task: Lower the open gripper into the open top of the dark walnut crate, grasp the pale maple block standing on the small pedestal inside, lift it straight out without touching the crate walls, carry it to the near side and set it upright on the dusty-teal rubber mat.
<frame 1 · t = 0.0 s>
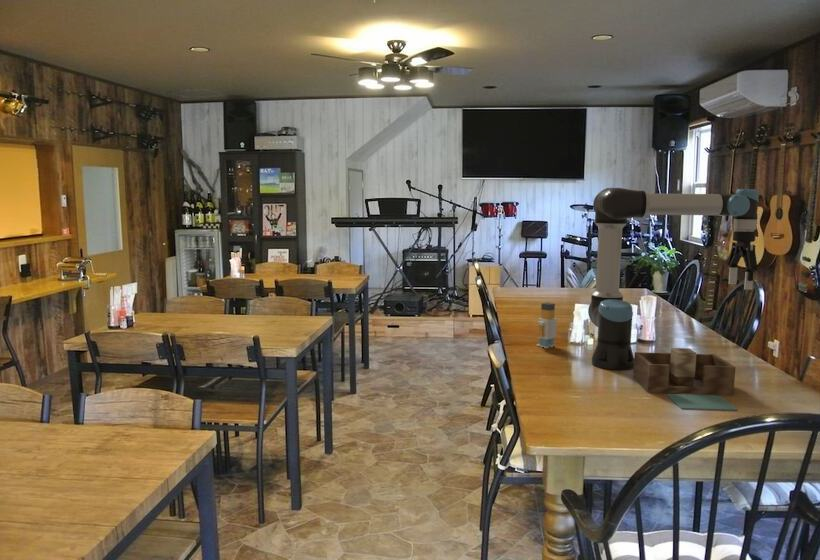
hand: (740, 286, 242), 28 cm above the table, fingers open, 13 cm apart
crate: (681, 386, 210), on the table
character figure: (546, 346, 264), on the table
block: (681, 374, 209), point 4 cm above the table, touching crate
mat: (701, 402, 193), on the table
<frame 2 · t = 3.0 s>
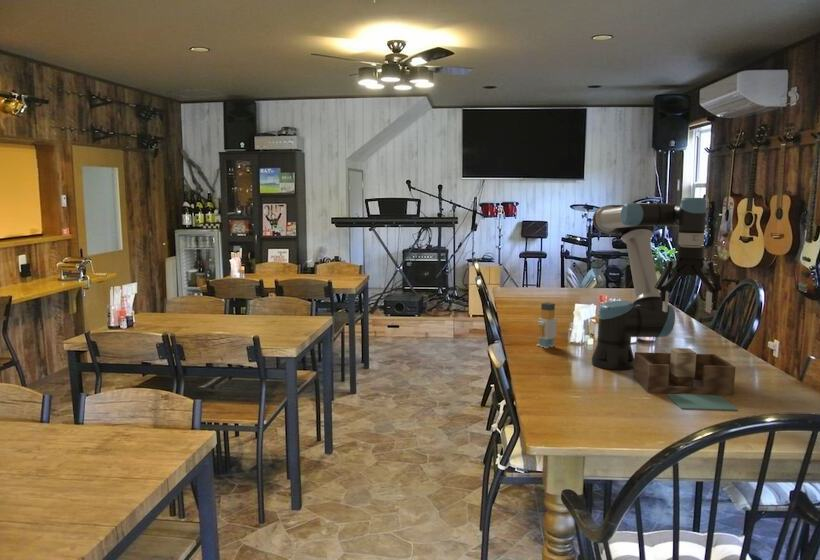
hand: (686, 311, 206), 25 cm above the table, fingers open, 13 cm apart
nothing on the table moved.
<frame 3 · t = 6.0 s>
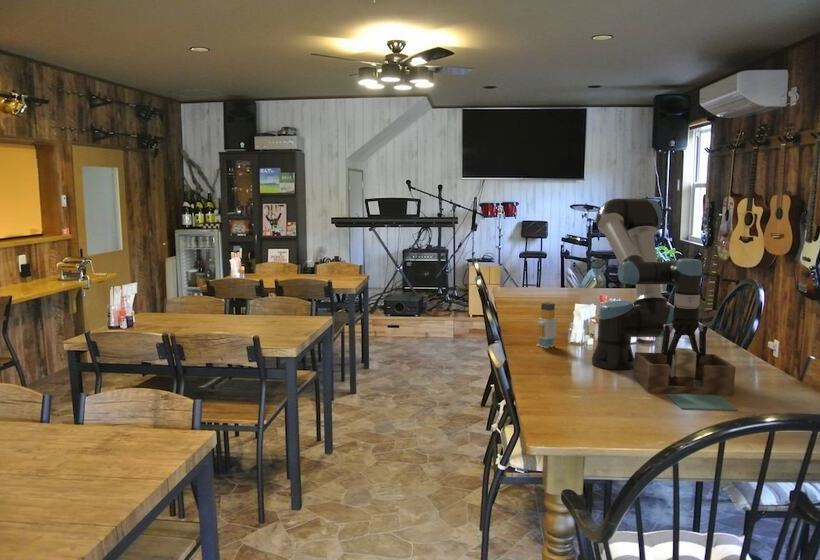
hand: (681, 376, 209), 3 cm above the table, fingers closed on block, 6 cm apart
block: (681, 374, 209), point 4 cm above the table, touching crate, gripper
everything else where it was.
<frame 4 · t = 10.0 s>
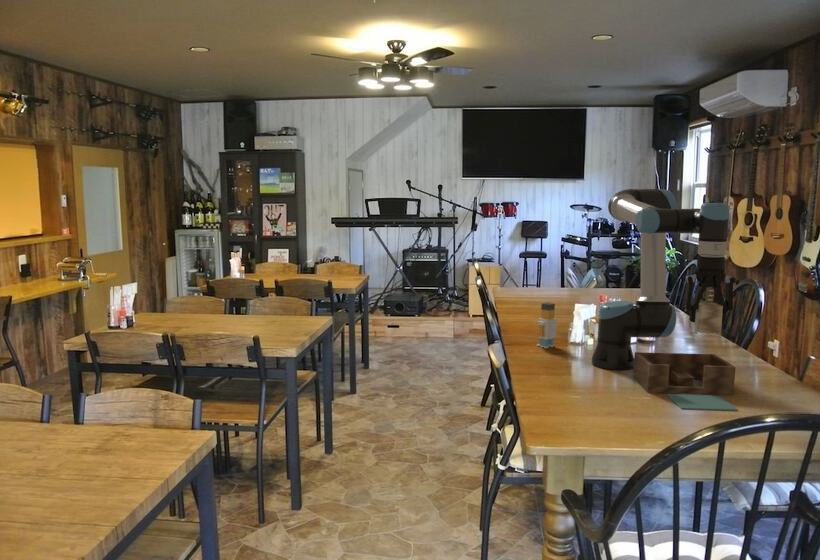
hand: (706, 332, 190), 22 cm above the table, fingers closed on block, 6 cm apart
block: (706, 330, 190), point 22 cm above the table, touching gripper
everything else where it was.
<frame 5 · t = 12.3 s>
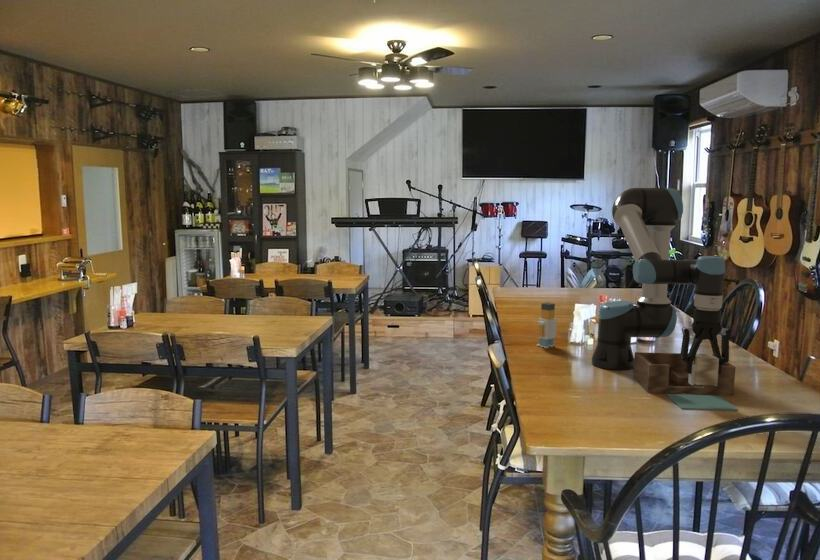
hand: (702, 384, 192), 6 cm above the table, fingers closed on block, 6 cm apart
block: (702, 382, 192), point 7 cm above the table, touching gripper
everything else where it was.
when the fingers open (1 cm above the table, at t = 14.2 s): block drops 2 cm, resting on mat.
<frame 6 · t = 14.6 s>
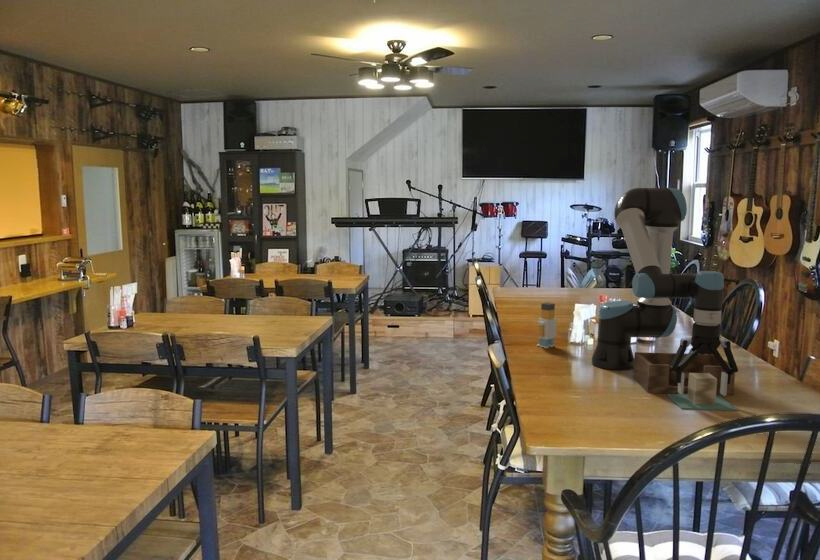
hand: (701, 393, 193), 3 cm above the table, fingers open, 12 cm apart
block: (701, 401, 193), resting on mat
everything else where it was.
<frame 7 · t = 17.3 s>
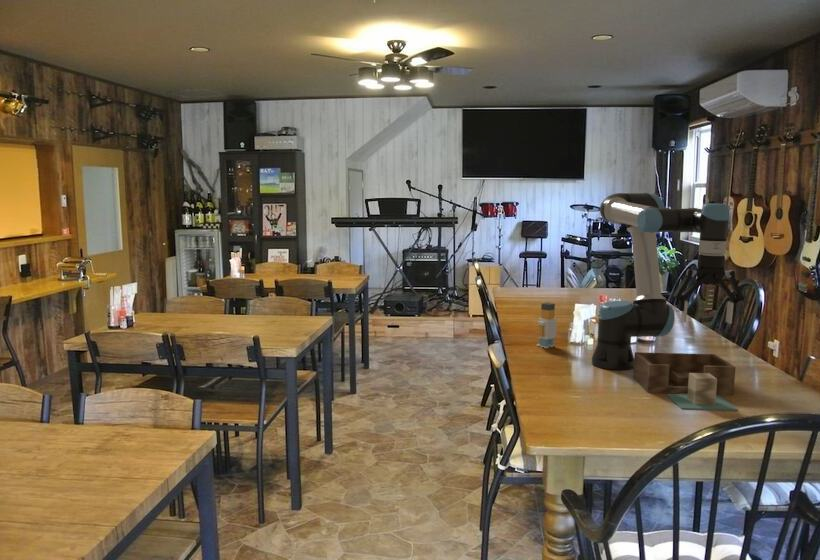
hand: (706, 322, 199), 23 cm above the table, fingers open, 13 cm apart
nothing on the table moved.
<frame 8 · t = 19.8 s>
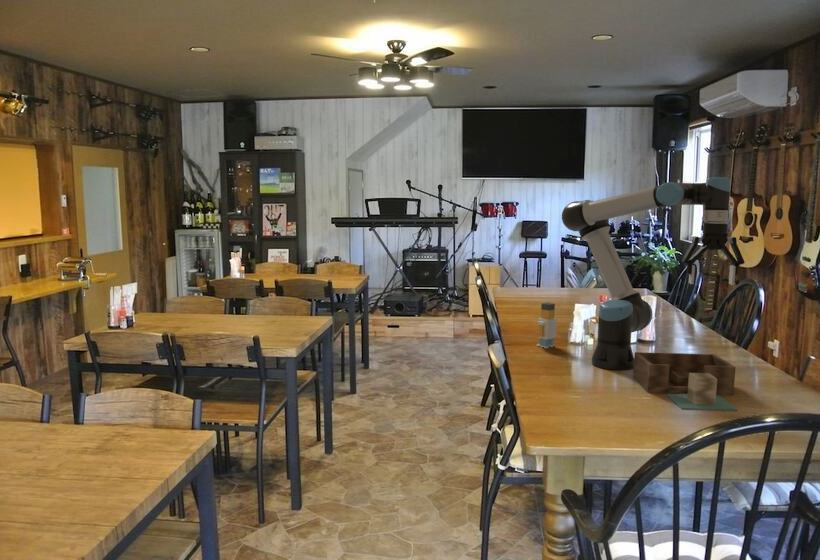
hand: (711, 284, 221), 32 cm above the table, fingers open, 13 cm apart
nothing on the table moved.
at the end: block inside the target area on the mat (0.0 cm from its centre), point 0.4 cm above the mat's base; block tilted 0°; block touching mat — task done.
